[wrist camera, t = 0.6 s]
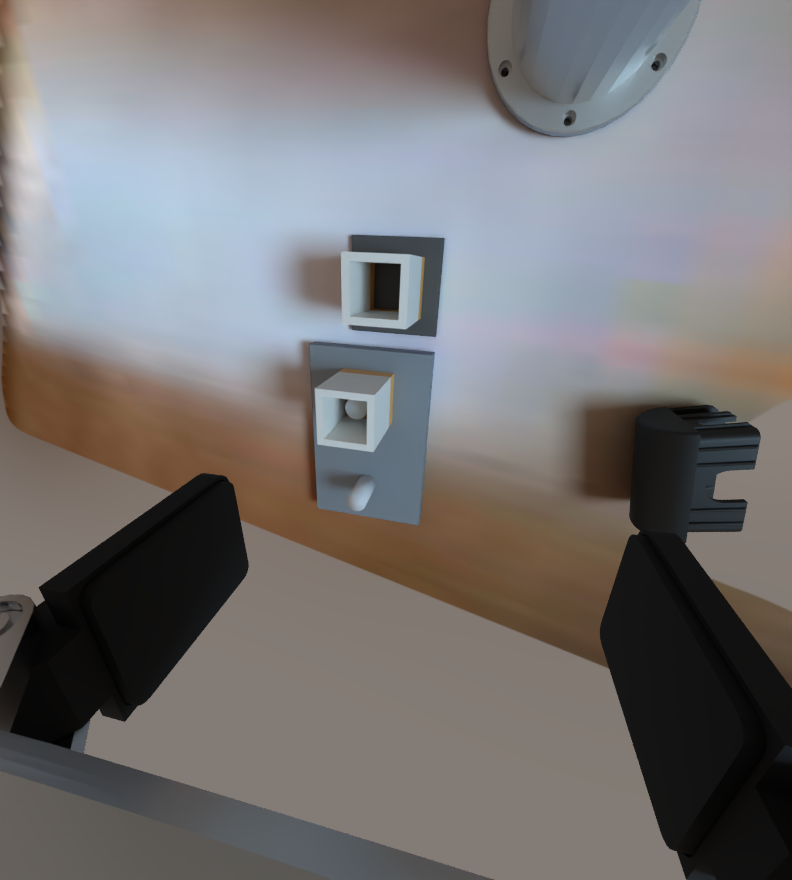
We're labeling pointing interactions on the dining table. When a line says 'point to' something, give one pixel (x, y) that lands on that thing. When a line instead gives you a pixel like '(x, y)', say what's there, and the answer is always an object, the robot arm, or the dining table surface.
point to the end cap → (688, 469)
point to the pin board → (400, 450)
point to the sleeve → (361, 290)
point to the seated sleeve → (336, 422)
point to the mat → (390, 278)
